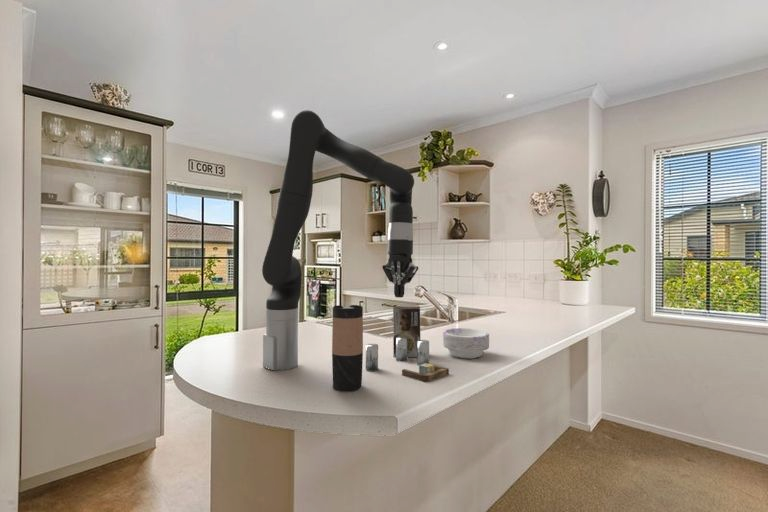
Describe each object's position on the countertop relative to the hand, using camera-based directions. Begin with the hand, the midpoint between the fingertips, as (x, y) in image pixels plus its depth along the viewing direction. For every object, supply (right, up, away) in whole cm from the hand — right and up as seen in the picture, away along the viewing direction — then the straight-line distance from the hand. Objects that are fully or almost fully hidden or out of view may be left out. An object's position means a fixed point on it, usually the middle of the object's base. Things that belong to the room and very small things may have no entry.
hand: (399, 297), depth 111 cm
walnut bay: (+7, -21, -7) cm, 23 cm away
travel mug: (-14, -21, -18) cm, 30 cm away
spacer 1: (-8, -21, -2) cm, 22 cm away
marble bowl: (+23, -21, +15) cm, 35 cm away
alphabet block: (+7, -21, -8) cm, 24 cm away
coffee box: (+3, -21, +15) cm, 26 cm away
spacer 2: (+1, -21, +8) cm, 23 cm away
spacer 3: (+7, -21, +3) cm, 22 cm away
